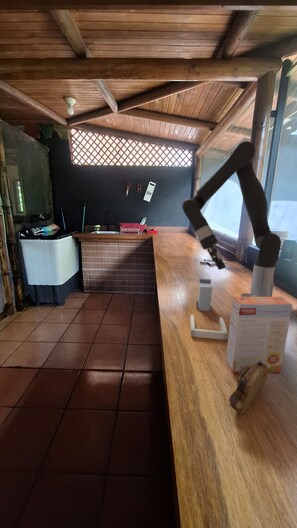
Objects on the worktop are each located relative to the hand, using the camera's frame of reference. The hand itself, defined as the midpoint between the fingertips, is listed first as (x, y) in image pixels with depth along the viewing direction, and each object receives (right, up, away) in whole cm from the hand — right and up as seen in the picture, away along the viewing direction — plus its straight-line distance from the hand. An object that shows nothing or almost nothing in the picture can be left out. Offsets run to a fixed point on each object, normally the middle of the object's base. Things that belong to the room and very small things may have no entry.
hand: (222, 268), depth 108 cm
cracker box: (-4, -28, -39) cm, 48 cm away
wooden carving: (-11, -31, -51) cm, 61 cm away
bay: (-12, -22, -19) cm, 32 cm away
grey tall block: (-9, -18, 0) cm, 20 cm away
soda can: (+4, -22, -15) cm, 27 cm away
